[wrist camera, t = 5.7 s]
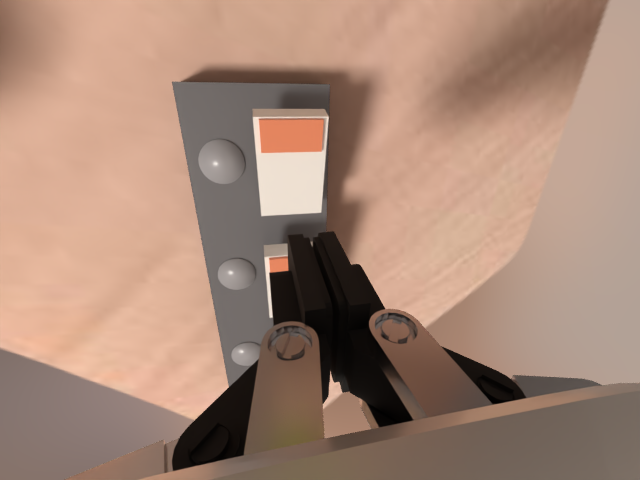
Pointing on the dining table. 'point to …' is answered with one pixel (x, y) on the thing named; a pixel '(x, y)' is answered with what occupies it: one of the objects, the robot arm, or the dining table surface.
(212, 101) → the strip
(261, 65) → the dining table surface
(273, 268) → the rocker middle
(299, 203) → the rocker
